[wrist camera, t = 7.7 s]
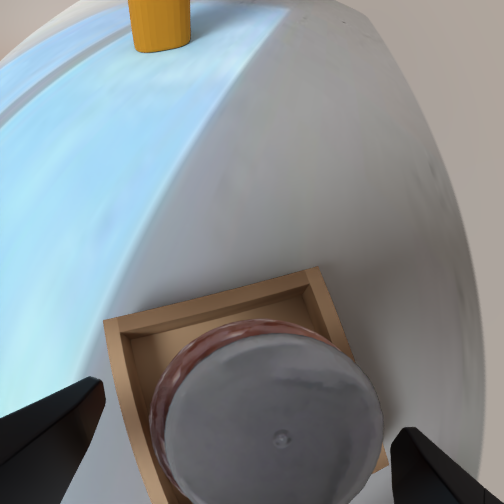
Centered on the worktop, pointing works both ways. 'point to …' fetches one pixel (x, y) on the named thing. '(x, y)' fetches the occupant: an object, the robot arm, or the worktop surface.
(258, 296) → the tray
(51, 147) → the worktop surface
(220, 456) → the supplement bottle
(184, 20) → the flashlight
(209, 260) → the worktop surface
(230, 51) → the worktop surface
